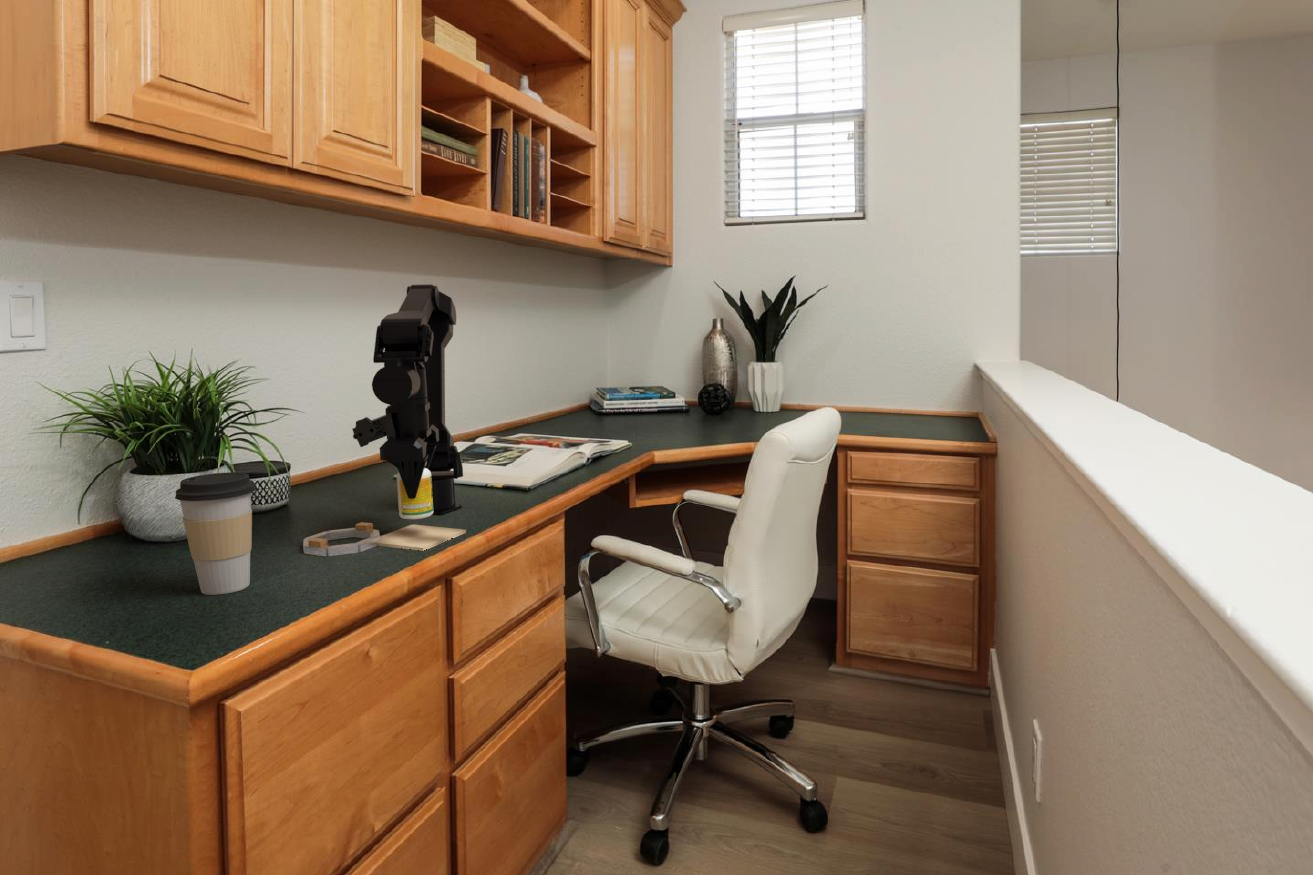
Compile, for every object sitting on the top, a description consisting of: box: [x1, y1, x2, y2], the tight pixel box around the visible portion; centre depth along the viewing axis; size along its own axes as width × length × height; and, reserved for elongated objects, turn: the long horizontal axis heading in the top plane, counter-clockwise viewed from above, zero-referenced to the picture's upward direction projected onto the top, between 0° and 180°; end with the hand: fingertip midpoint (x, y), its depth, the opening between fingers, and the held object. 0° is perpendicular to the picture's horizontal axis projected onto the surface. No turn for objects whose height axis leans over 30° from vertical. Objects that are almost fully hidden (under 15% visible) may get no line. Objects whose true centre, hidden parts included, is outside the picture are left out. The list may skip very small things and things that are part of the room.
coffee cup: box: [174, 471, 257, 596], centre depth 105 cm, size 9×9×15 cm
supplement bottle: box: [396, 465, 434, 520], centre depth 127 cm, size 5×5×10 cm
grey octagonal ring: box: [302, 521, 381, 557], centre depth 125 cm, size 11×11×2 cm
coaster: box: [376, 523, 467, 552], centre depth 128 cm, size 11×11×1 cm
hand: (414, 494), depth 127 cm, fingers closed on supplement bottle, 5 cm apart
